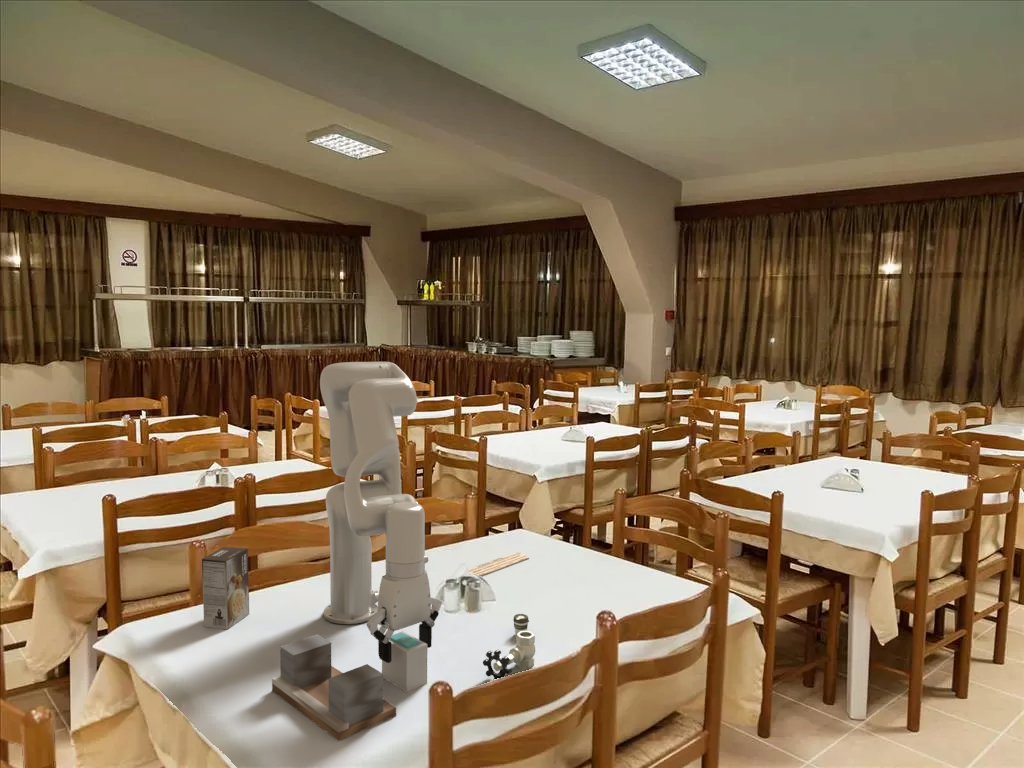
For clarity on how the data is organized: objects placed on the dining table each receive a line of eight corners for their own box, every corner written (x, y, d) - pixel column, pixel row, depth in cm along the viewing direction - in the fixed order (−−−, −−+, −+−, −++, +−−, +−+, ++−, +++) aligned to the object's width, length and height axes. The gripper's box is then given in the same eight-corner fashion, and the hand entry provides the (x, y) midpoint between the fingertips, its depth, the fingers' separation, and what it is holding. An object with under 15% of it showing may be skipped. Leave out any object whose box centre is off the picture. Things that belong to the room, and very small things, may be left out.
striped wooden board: (472, 582, 208) (472, 576, 208) (454, 576, 213) (454, 569, 212) (529, 561, 226) (529, 555, 226) (510, 555, 230) (510, 549, 230)
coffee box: (225, 611, 184) (224, 545, 183) (250, 614, 183) (249, 547, 181) (202, 627, 175) (201, 558, 174) (228, 630, 174) (227, 560, 172)
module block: (402, 668, 158) (402, 629, 157) (427, 683, 152) (427, 642, 151) (382, 677, 154) (382, 636, 153) (406, 692, 149) (406, 650, 148)
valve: (517, 656, 164) (482, 678, 155) (518, 626, 164) (482, 646, 154) (543, 665, 160) (508, 688, 151) (544, 635, 160) (509, 656, 150)
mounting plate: (327, 670, 156) (327, 629, 155) (396, 715, 140) (396, 670, 139) (272, 690, 148) (271, 648, 147) (338, 740, 132) (338, 693, 131)
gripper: (428, 553, 159) (428, 634, 161) (356, 572, 147) (357, 660, 149) (452, 562, 154) (451, 645, 155) (379, 582, 142) (380, 673, 143)
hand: (405, 652), depth 152 cm, fingers open, 9 cm apart
